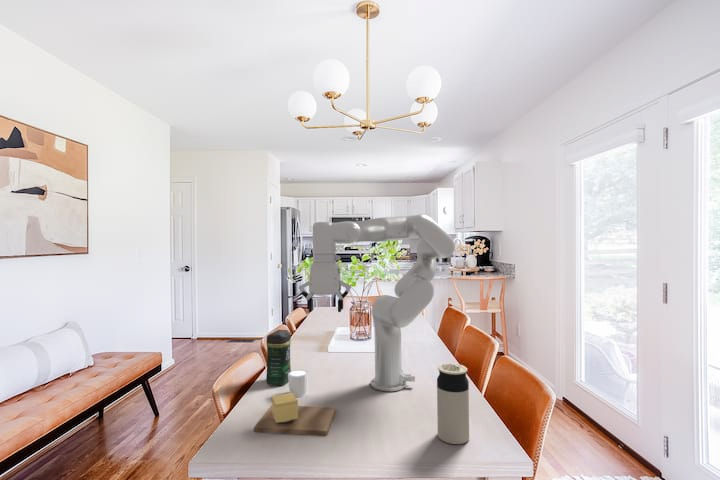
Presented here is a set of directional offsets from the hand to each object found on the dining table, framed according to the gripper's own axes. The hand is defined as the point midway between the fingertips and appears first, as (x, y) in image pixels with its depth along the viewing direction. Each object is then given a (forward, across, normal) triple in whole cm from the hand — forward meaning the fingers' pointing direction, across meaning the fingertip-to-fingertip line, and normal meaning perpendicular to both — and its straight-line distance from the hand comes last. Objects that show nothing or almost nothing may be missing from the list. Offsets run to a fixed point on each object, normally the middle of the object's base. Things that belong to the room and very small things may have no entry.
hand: (325, 311), depth 123 cm
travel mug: (+28, -38, +22) cm, 52 cm away
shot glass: (+28, +10, -2) cm, 30 cm away
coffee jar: (+28, +20, -12) cm, 37 cm away
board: (+28, +5, +17) cm, 33 cm away
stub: (+27, +8, +19) cm, 34 cm away
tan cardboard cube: (+26, +8, +19) cm, 33 cm away
